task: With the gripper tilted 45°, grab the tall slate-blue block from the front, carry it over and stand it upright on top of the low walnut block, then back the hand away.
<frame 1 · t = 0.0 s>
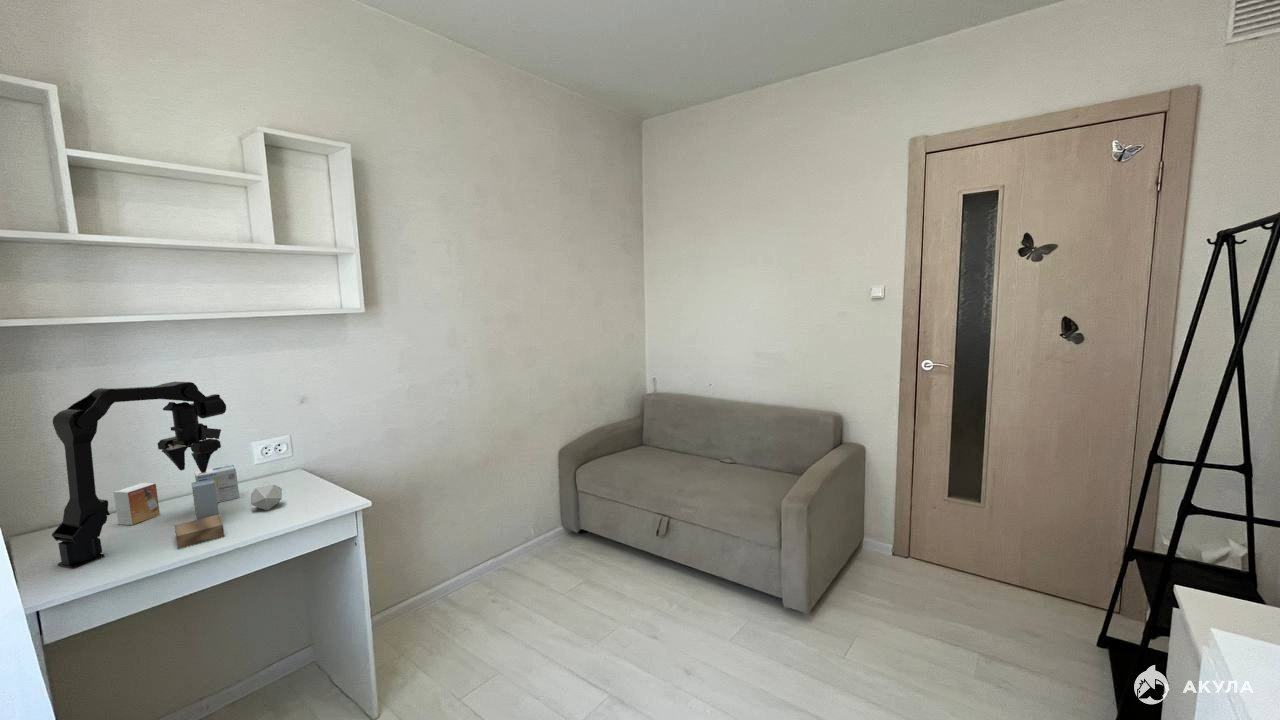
hand: (192, 471, 162), 15 cm above the table, tool pointing down, fingers open, 9 cm apart
walnut base block: (200, 538, 149), on the table
light bulb box: (219, 500, 177), on the table
die: (267, 508, 169), on the table
slate block: (208, 523, 158), on the table
small box: (139, 520, 162), on the table
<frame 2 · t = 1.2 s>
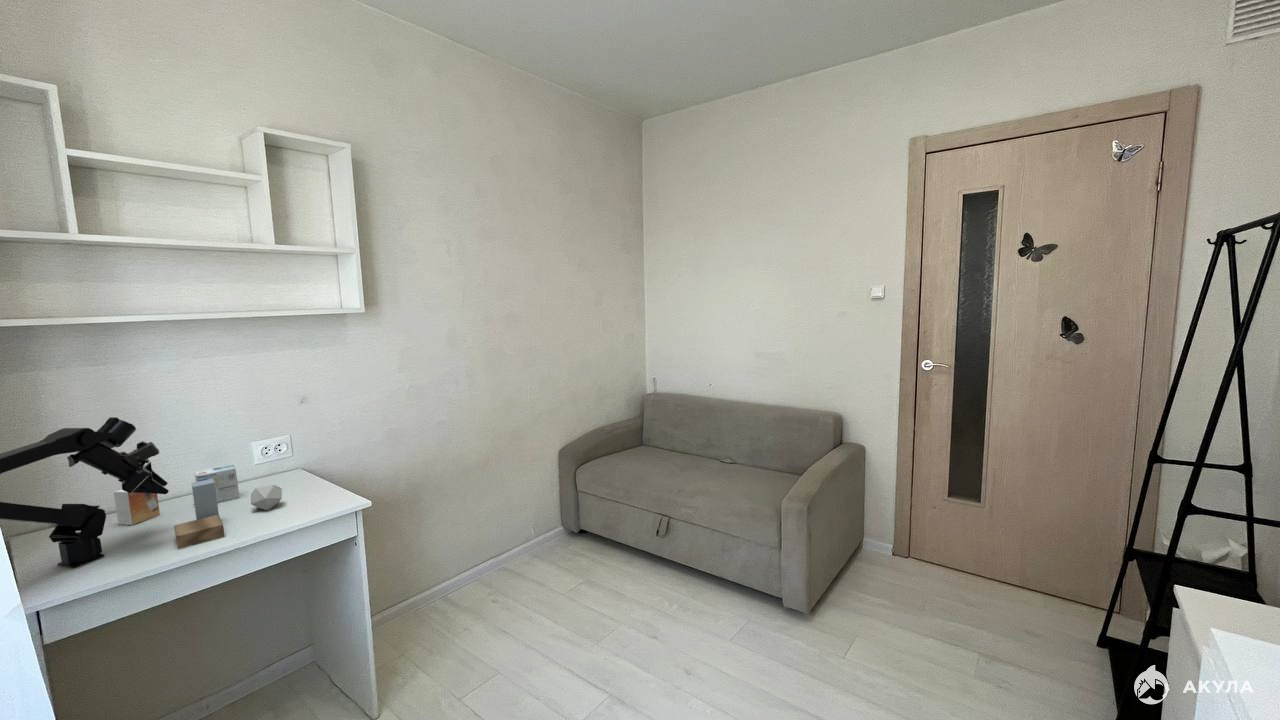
hand: (167, 488, 151), 13 cm above the table, tool tilted 45°, fingers open, 9 cm apart
nothing on the table moved.
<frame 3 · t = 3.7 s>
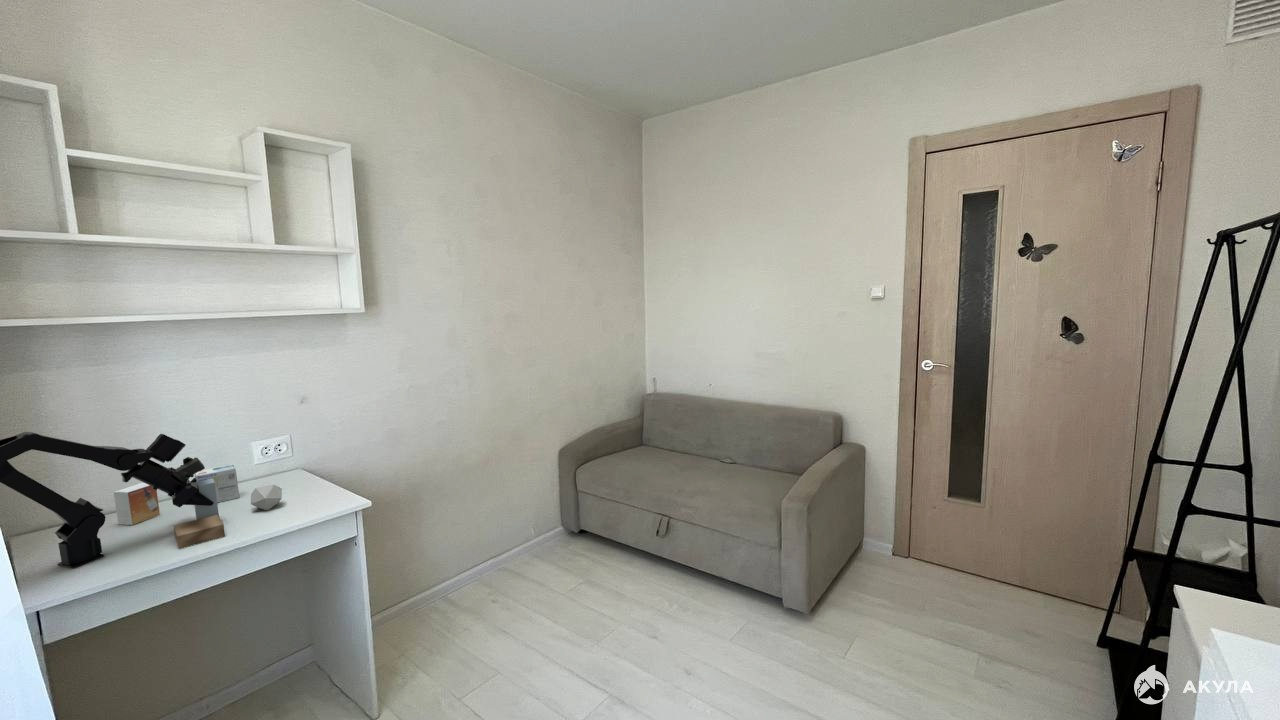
hand: (211, 501, 158), 7 cm above the table, tool tilted 45°, fingers closed on slate block, 5 cm apart
slate block: (208, 523, 158), on the table, touching gripper
everything else where it was.
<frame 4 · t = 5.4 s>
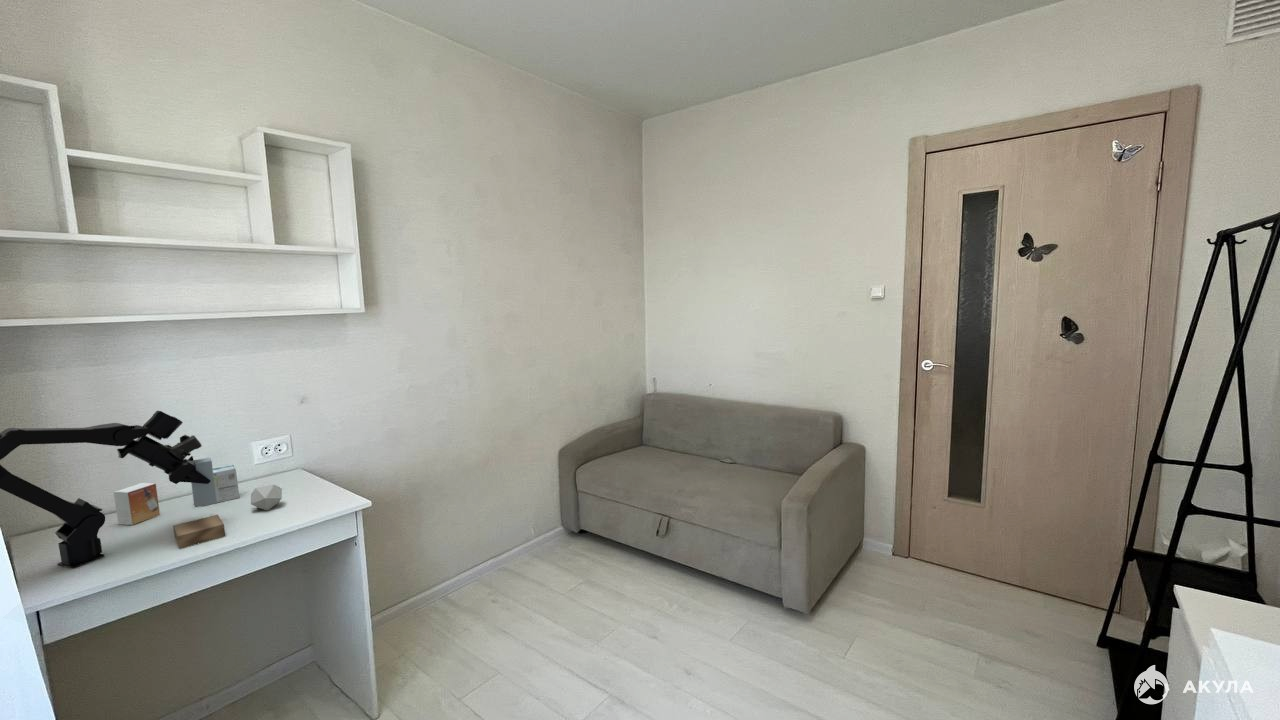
hand: (208, 480, 157), 13 cm above the table, tool tilted 45°, fingers closed on slate block, 5 cm apart
slate block: (205, 502, 157), point 7 cm above the table, touching gripper
everything else where it was.
when the fingers open (12 cm above the table, at t = 7.0 s): slate block drops 1 cm, point 4 cm above the table.
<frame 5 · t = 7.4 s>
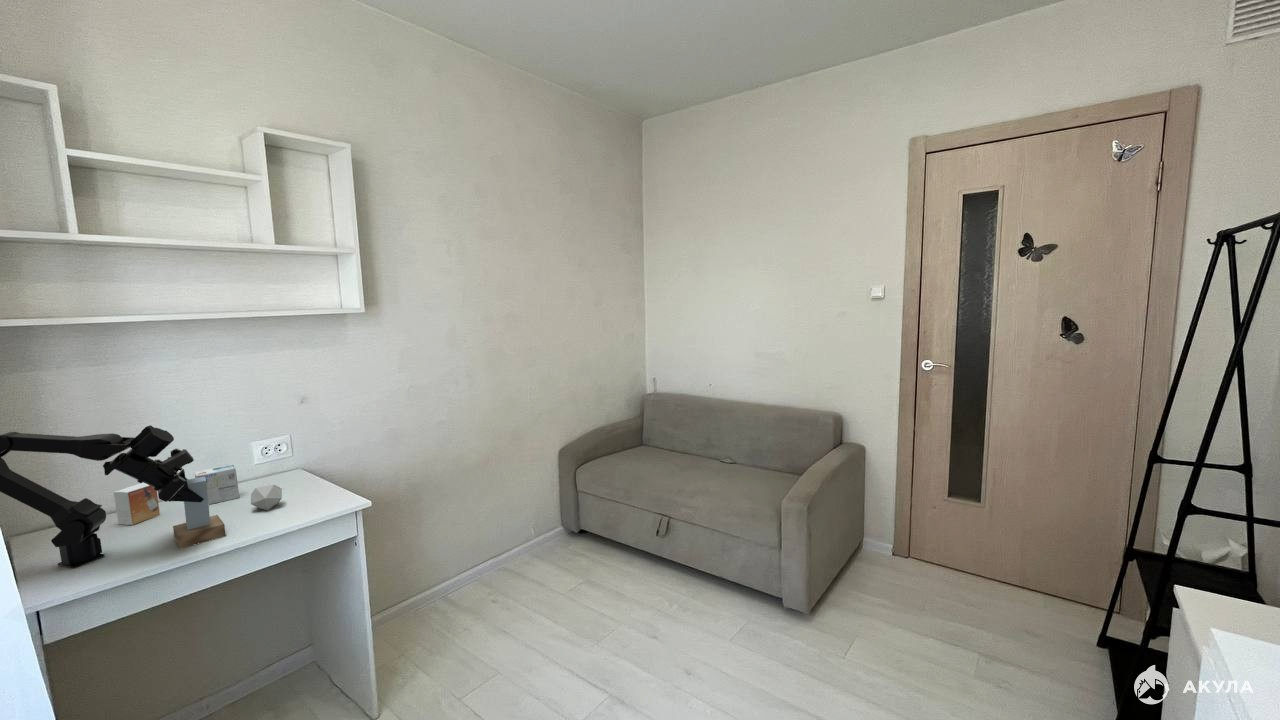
hand: (201, 496, 149), 12 cm above the table, tool tilted 45°, fingers open, 9 cm apart
slate block: (198, 524, 149), point 4 cm above the table
everything else where it was.
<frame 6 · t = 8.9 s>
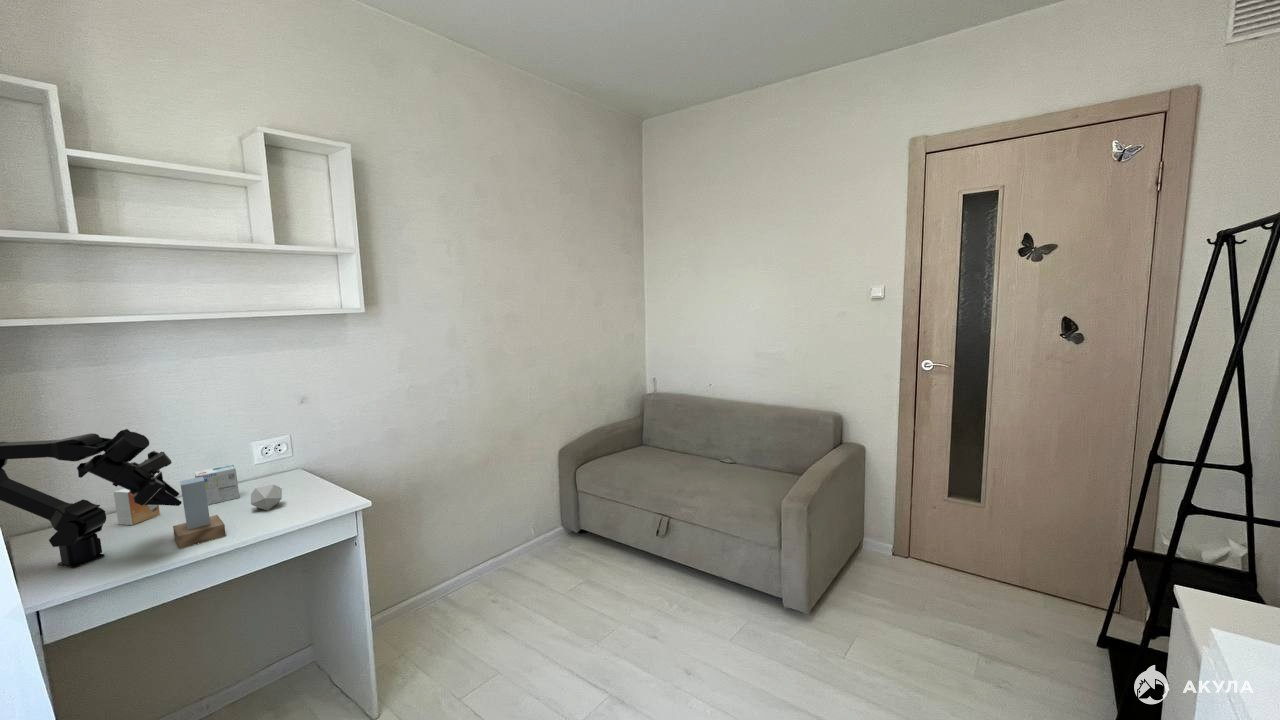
hand: (179, 499, 146), 12 cm above the table, tool tilted 45°, fingers open, 9 cm apart
walnut base block: (200, 538, 149), on the table, touching slate block
slate block: (198, 524, 149), point 4 cm above the table, touching walnut base block
everything else where it was.
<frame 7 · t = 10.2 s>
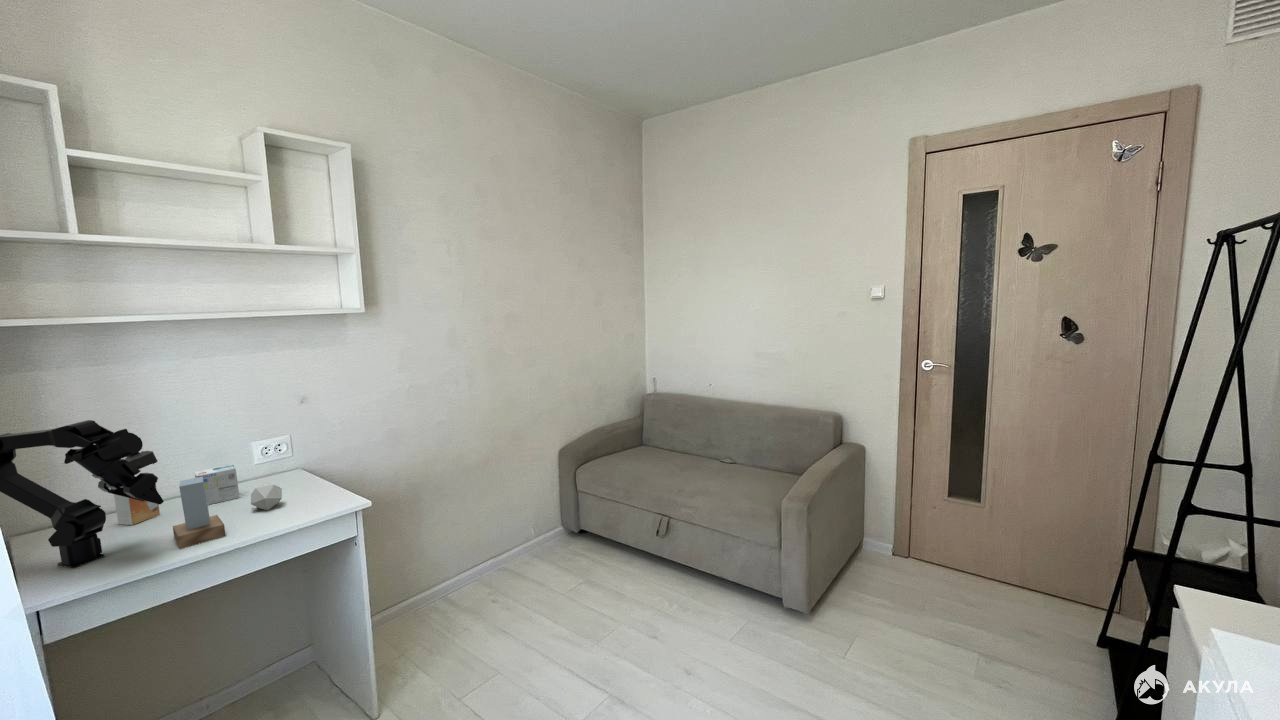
hand: (153, 501, 144), 12 cm above the table, tool tilted 35°, fingers open, 9 cm apart
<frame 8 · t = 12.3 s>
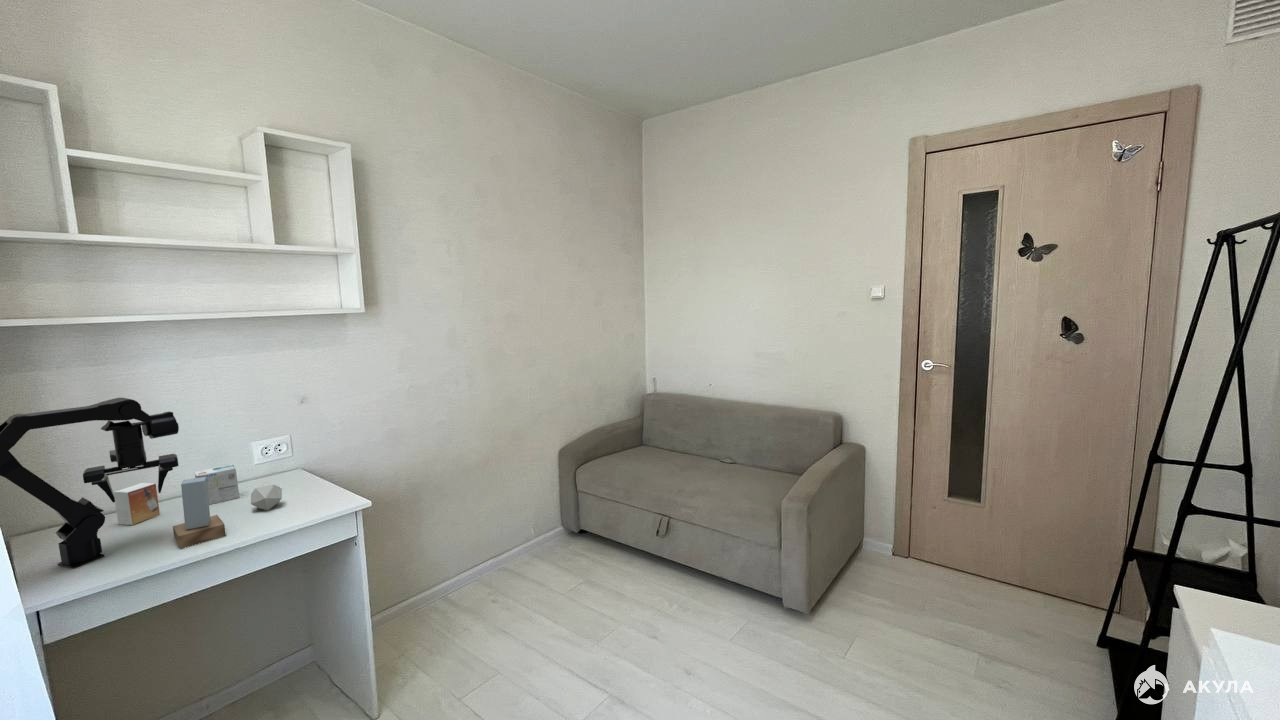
hand: (137, 497, 145), 13 cm above the table, tool pointing down, fingers open, 9 cm apart
walnut base block: (200, 538, 149), on the table
slate block: (198, 524, 148), point 4 cm above the table
everything else where it was.
at the end: slate block 0.2 cm off-centre on the walnut base block, point 4.3 cm above the walnut base block's base; slate block tilted 5°; the gripper is holding nothing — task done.
